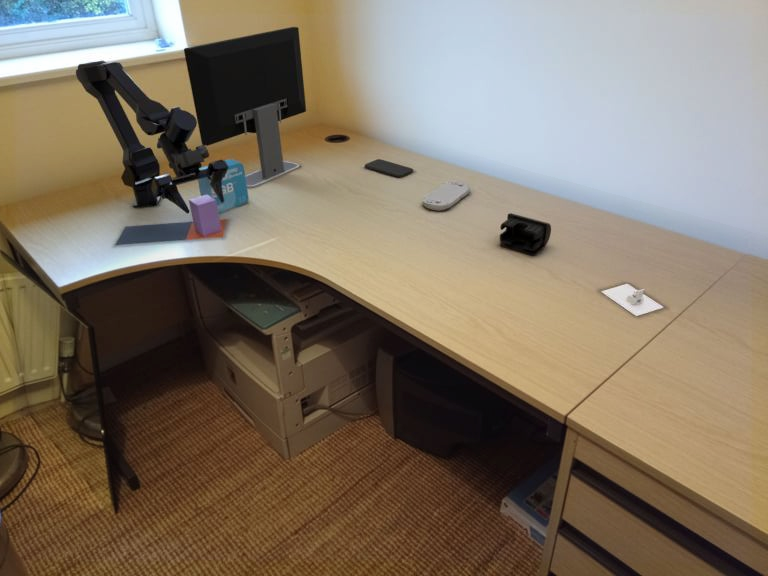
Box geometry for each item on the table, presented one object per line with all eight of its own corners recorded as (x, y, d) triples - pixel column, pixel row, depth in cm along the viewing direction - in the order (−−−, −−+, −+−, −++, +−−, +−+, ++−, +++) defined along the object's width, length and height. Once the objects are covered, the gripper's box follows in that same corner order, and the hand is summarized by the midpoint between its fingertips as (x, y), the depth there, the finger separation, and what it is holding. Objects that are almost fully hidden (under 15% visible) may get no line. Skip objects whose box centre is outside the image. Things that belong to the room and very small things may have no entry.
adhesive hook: (633, 307, 116) (637, 293, 115) (624, 300, 118) (627, 287, 117) (645, 303, 117) (649, 290, 116) (636, 297, 119) (639, 284, 118)
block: (195, 230, 150) (188, 199, 146) (212, 224, 153) (206, 194, 148) (203, 237, 147) (197, 205, 142) (222, 230, 150) (216, 199, 145)
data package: (212, 215, 158) (204, 173, 152) (203, 210, 161) (195, 169, 155) (249, 202, 166) (243, 161, 159) (240, 197, 168) (234, 157, 162)
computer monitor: (301, 153, 200) (288, 26, 179) (320, 158, 195) (309, 27, 174) (206, 193, 172) (177, 47, 151) (226, 199, 168) (199, 50, 147)
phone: (399, 176, 178) (363, 164, 186) (399, 178, 178) (363, 167, 186) (414, 169, 182) (378, 158, 191) (414, 171, 183) (378, 161, 191)
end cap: (549, 245, 139) (553, 219, 136) (535, 257, 134) (539, 230, 131) (511, 234, 145) (513, 209, 141) (497, 245, 140) (499, 219, 136)
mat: (115, 246, 144) (114, 245, 144) (125, 227, 153) (125, 226, 153) (222, 238, 147) (222, 236, 147) (227, 220, 156) (226, 219, 155)
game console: (445, 205, 154) (418, 199, 158) (445, 214, 155) (418, 208, 159) (474, 183, 167) (448, 178, 171) (474, 191, 168) (448, 186, 172)
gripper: (144, 144, 135) (175, 203, 133) (218, 127, 145) (247, 181, 144) (139, 169, 144) (168, 223, 143) (209, 151, 154) (236, 202, 153)
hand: (206, 207), depth 145 cm, fingers open, 9 cm apart
